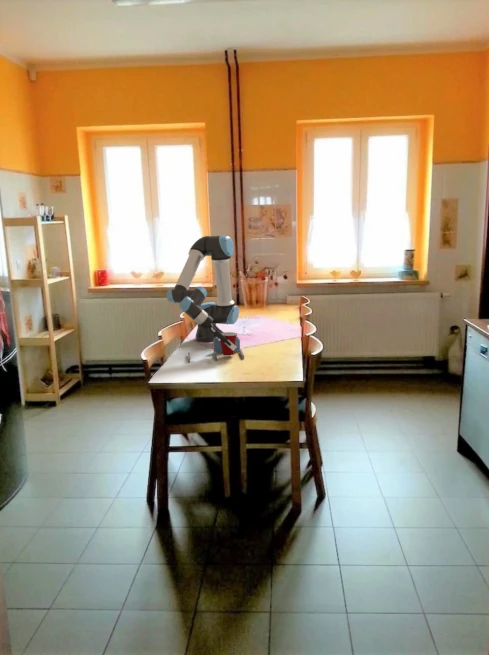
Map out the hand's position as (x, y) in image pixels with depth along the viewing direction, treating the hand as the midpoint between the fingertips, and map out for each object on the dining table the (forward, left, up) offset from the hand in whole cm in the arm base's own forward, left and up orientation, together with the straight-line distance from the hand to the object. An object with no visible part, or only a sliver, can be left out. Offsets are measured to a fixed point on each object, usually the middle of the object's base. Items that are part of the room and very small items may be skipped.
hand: (233, 346), depth 276 cm
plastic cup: (0, -3, -4) cm, 5 cm away
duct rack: (-2, -10, -6) cm, 12 cm away
